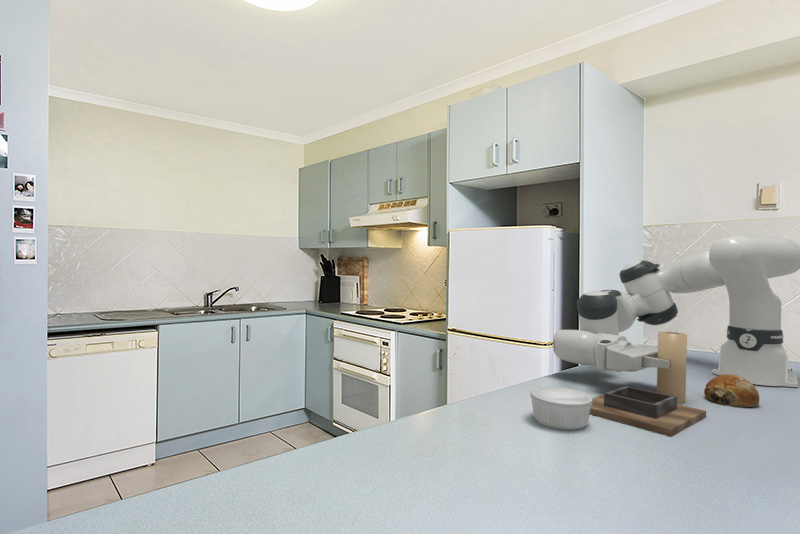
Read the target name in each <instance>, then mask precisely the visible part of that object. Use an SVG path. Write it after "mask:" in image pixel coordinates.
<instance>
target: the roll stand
mask: <svg viewBox="0 0 800 534" xmlns="http://www.w3.org/2000/svg"><path fill="white" fill-rule="evenodd" d="M589 415H592V416H596V417H600V418H604V419H607V420H611V421H614V422H618V423H621V424H625V425H627V426H630V427H631V426H632V427H636V428H640V429H643V430H646V431H650V432H653V433H656V434H660V435H665V436H668V437H673V436H675V435H676V434H677V433H680V432H682V431H683V430H685V429H687V428H689V427H690V426H692V425H694V424H696V423H698V422H700V421H701V420H703V419H704V418H706V417H707V410H705V409H702V408H701V409H700V408H697V407H692V406H687V405H684V404H677V397H676V396H671V395H666V394H662V393H657V391H651V390H648V389H647V390H646V389H642V388H638V387H634V386H629V385H625V386H622V387H619V388H615V389H613V390H610V391H607V392H604V394H601V395H599V396H596V397H592V405H591V408H590V413H589Z"/></svg>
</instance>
